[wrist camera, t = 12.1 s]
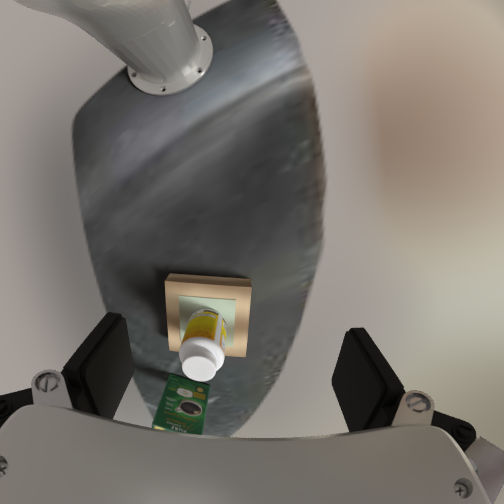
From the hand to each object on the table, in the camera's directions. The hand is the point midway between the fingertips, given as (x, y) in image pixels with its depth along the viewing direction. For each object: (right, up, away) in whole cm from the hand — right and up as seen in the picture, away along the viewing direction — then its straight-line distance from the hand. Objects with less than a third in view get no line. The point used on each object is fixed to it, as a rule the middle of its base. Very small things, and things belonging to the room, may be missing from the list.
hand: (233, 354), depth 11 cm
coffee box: (-11, -20, +35) cm, 42 cm away
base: (-6, -5, +31) cm, 32 cm away
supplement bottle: (-6, -6, +28) cm, 29 cm away
